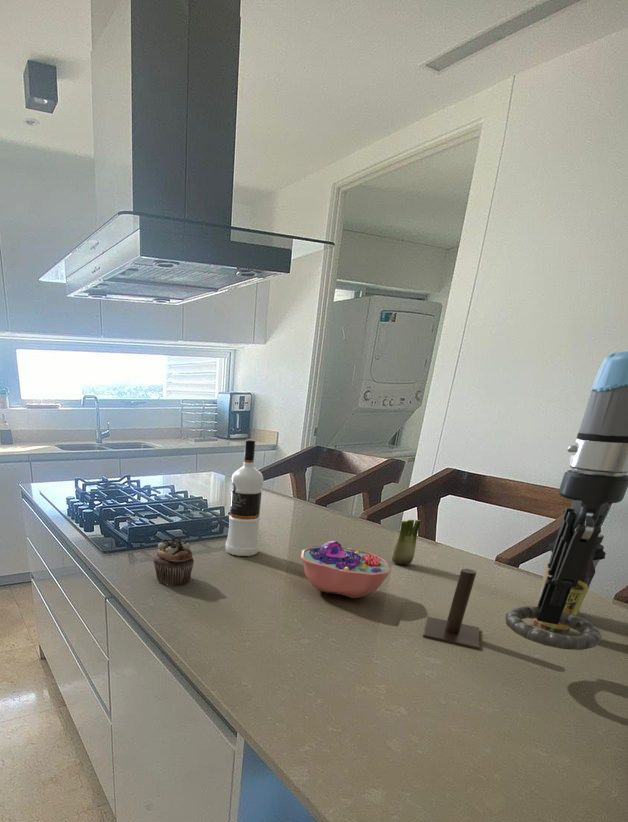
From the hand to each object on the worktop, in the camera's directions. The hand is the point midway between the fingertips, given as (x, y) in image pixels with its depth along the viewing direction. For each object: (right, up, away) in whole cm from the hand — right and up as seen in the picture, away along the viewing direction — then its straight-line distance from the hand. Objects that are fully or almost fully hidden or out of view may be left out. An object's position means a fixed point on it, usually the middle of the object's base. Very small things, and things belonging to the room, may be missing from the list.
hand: (546, 618), depth 79 cm
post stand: (-9, -4, +12) cm, 16 cm away
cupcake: (-61, +8, +37) cm, 72 cm away
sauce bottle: (+13, -3, +16) cm, 21 cm away
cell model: (-24, +4, +31) cm, 39 cm away
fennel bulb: (-1, +12, +50) cm, 51 cm away
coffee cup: (+20, +1, +25) cm, 32 cm away
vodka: (-42, +16, +56) cm, 72 cm away
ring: (-2, -1, -4) cm, 5 cm away
